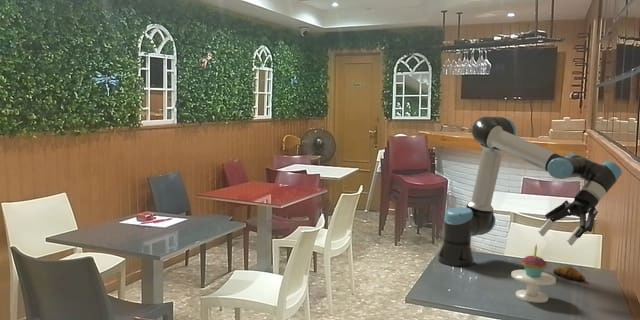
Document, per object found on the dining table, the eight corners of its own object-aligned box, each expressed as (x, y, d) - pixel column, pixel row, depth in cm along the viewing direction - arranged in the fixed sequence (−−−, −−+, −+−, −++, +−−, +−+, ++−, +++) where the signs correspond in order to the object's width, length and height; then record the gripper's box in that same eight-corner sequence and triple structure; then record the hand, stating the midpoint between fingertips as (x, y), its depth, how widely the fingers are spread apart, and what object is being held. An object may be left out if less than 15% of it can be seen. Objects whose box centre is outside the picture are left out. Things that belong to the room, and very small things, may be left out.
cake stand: (504, 298, 195) (506, 276, 195) (515, 287, 208) (517, 267, 207) (549, 308, 187) (551, 285, 186) (557, 296, 200) (559, 275, 199)
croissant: (589, 281, 221) (590, 269, 220) (579, 284, 217) (580, 271, 216) (558, 272, 232) (559, 261, 231) (548, 274, 228) (549, 262, 228)
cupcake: (547, 280, 192) (550, 246, 191) (522, 277, 194) (524, 244, 192) (543, 273, 200) (545, 241, 199) (518, 271, 202) (521, 239, 201)
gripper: (623, 209, 191) (587, 254, 187) (568, 197, 214) (534, 236, 211) (613, 194, 189) (576, 239, 185) (558, 184, 212) (524, 223, 208)
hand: (554, 238), depth 198 cm, fingers open, 13 cm apart
